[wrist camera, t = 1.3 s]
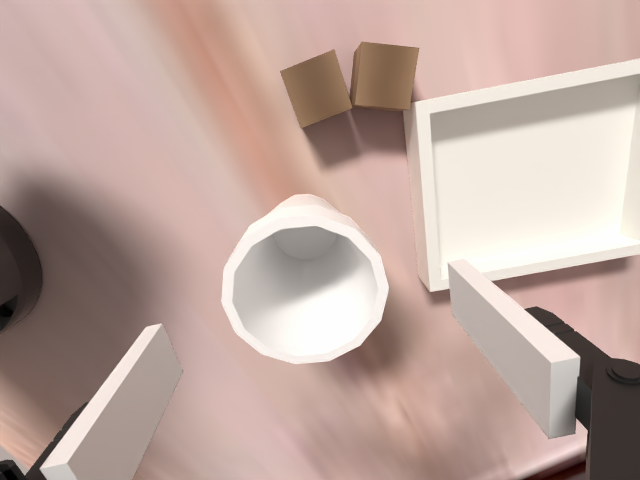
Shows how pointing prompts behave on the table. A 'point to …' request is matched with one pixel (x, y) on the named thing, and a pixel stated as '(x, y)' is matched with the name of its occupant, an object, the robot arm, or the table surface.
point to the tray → (527, 174)
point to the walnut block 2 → (383, 76)
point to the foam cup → (304, 283)
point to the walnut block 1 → (316, 89)
